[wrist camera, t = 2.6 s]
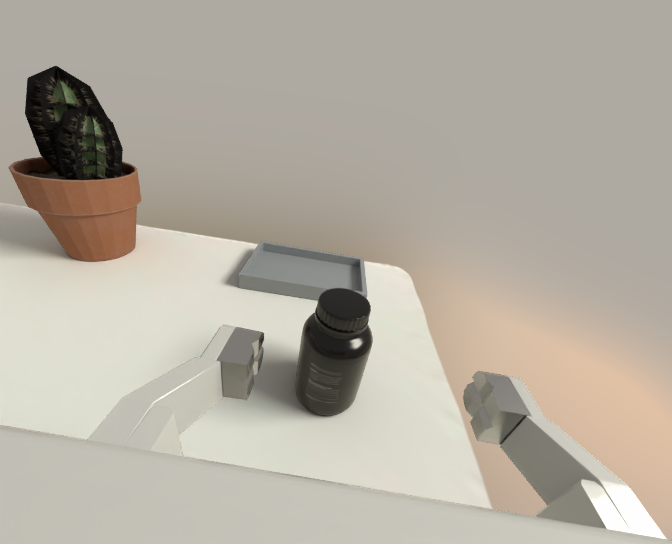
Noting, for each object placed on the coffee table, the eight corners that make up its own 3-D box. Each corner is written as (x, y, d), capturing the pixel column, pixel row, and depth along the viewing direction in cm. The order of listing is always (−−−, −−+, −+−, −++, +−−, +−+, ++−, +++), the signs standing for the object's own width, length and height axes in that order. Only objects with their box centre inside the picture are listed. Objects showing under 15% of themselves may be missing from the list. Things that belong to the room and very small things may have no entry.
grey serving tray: (238, 287, 43) (238, 274, 42) (260, 252, 54) (260, 240, 53) (363, 307, 44) (367, 295, 43) (360, 269, 55) (363, 258, 54)
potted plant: (19, 264, 39) (-90, 41, 26) (85, 227, 51) (32, 59, 38) (124, 274, 41) (71, 72, 29) (165, 236, 53) (140, 80, 40)
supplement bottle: (368, 394, 31) (398, 311, 25) (321, 432, 26) (344, 342, 20) (328, 354, 35) (345, 274, 29) (281, 381, 30) (291, 293, 24)
